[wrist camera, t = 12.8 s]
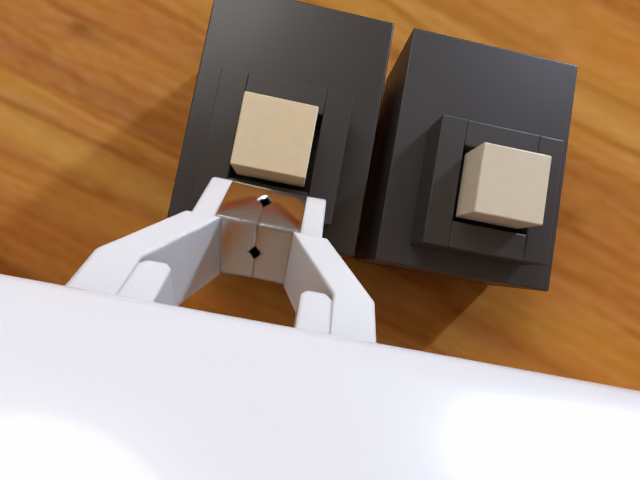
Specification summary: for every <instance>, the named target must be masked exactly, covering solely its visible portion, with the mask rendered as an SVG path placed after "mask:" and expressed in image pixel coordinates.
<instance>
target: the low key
mask: <svg viewBox="0 0 640 480" xmlns="http://www.w3.org/2000/svg"><path fill="white" fill-rule="evenodd" d="M551 158H552V157H551V156H548V155H543V154H539V153H534V152H529V151H525V150H520V149H515V148H510V147H506V146H501V145H496V144H492V143H487V142H484V143H483V144H481V145H479V146H478V147H476V148H475V149H473V150H471V151H470V152H468V153H466V154H465V158H464V164H463V171H462V178H461V184H460V191H459V197H458V204H457V210H456V217H457V218H463V219H468V220H473V221H478V222H483V223H488V224H493V225H498V226H503V227H509V228H514V229H520V228H527V227H533V226H540V225H542V224H543V218H544V210H545V203H546V195H547V188H548V180H549V173H550V165H551Z"/></svg>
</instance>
